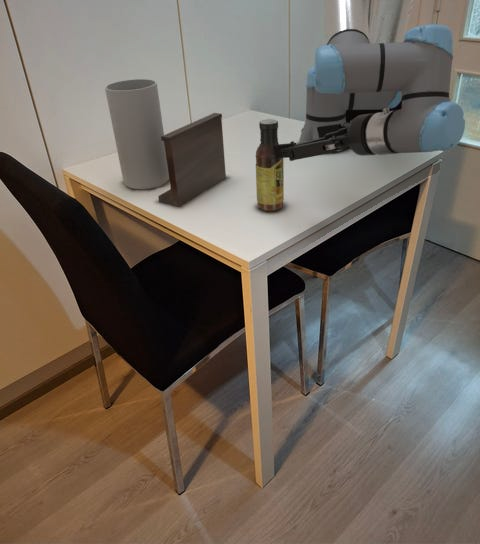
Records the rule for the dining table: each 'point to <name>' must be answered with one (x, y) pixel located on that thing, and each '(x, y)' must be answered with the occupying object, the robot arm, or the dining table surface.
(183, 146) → the wooden shelf
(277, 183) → the sauce bottle
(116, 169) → the dining table surface
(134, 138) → the cylinder vase
